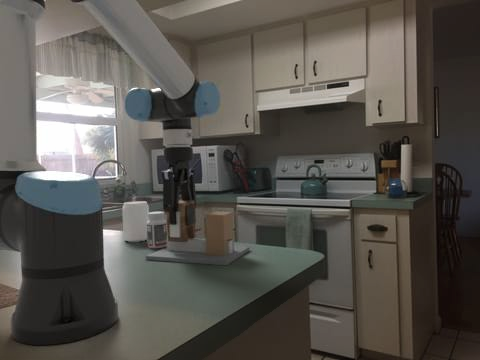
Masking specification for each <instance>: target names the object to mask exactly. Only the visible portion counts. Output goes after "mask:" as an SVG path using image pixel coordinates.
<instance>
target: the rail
mask: <svg viewBox="0 0 480 360" xmlns="http://www.w3.org/2000/svg"><path fill="white" fill-rule="evenodd" d="M233 213H234V212H233V211H213V212H209V213H206V214H204V217H203V218H204V221H203V222H204V225H203V226H204V238H194V239H189V238H188V241H187V242H170V241H168V238H167V246H166V247H163V248H162V249H160V250H157V251H154V252H152V253H150V254H147V255H145V261H156V262H157V261H159V262H172V263H185V264H187V263H189V264H201V265H202V264H203V265H215V266H216V265H219V266H227V265H229V264H230V263H232V262H234V261H235V260H237V259H239V258H240V257H242V256H243V255H245V254H246V253H247V252H249V251H250V246H243V245H241V246H240V245H234V243H235V242H234V216H233Z"/></svg>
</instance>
